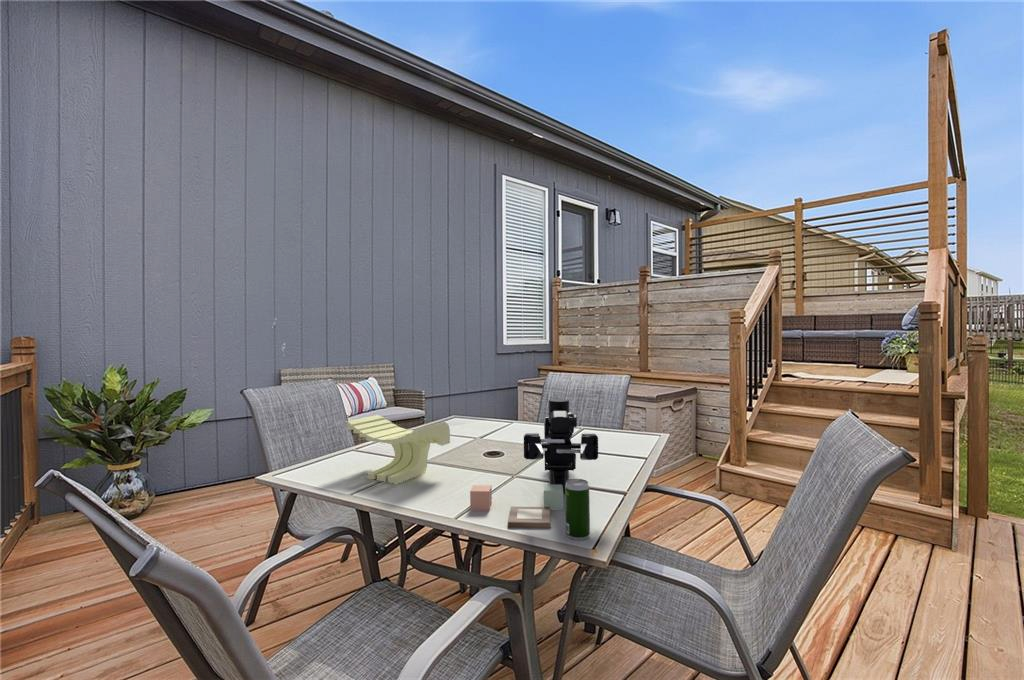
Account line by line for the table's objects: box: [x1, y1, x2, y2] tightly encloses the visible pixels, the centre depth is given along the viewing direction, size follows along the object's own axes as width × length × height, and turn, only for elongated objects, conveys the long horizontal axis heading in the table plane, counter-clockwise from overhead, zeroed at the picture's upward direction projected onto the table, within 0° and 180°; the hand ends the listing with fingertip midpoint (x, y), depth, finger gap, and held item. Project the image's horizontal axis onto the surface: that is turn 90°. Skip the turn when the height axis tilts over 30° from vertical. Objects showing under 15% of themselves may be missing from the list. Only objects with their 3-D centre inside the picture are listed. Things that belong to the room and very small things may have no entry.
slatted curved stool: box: [346, 414, 451, 485], centre depth 151 cm, size 30×16×18 cm, turn 60°
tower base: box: [507, 506, 551, 529], centre depth 112 cm, size 10×10×1 cm
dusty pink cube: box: [469, 484, 493, 511], centre depth 121 cm, size 5×5×5 cm
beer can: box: [564, 478, 591, 541], centre depth 102 cm, size 5×5×12 cm
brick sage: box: [543, 484, 564, 511], centre depth 121 cm, size 5×5×5 cm
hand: (561, 455), depth 108 cm, fingers open, 9 cm apart
